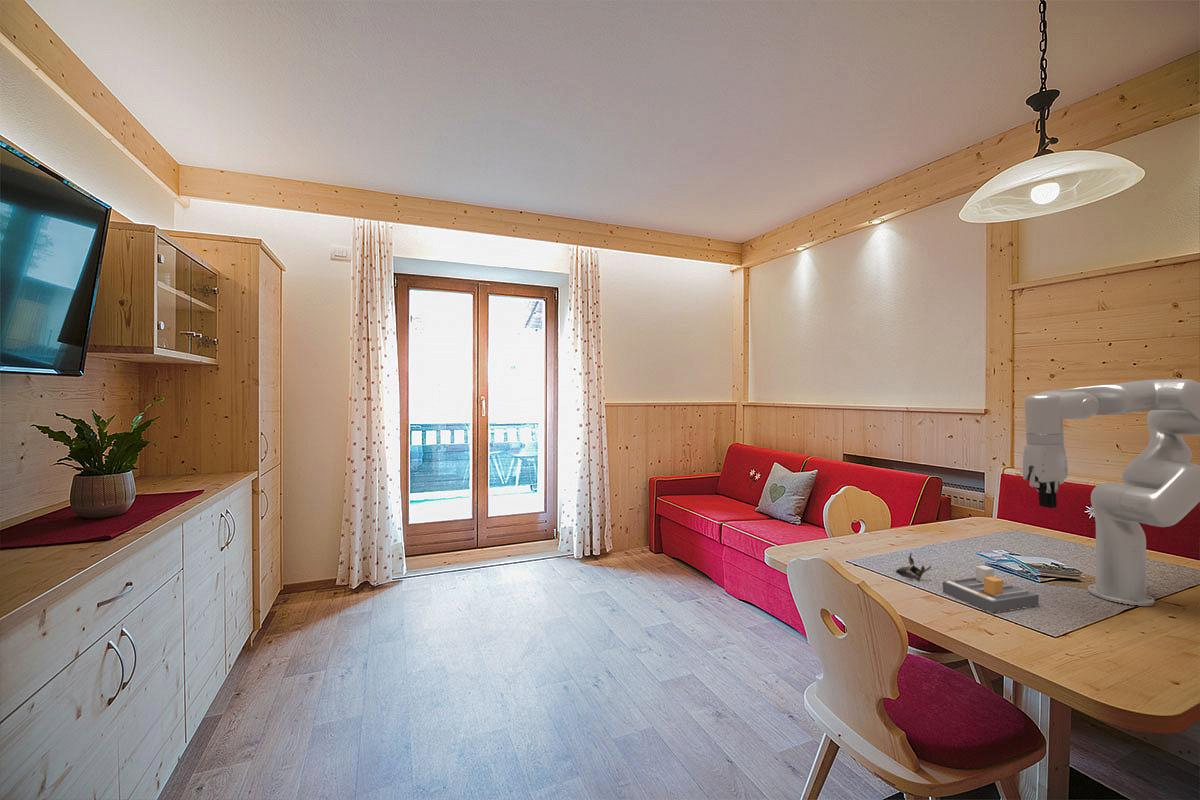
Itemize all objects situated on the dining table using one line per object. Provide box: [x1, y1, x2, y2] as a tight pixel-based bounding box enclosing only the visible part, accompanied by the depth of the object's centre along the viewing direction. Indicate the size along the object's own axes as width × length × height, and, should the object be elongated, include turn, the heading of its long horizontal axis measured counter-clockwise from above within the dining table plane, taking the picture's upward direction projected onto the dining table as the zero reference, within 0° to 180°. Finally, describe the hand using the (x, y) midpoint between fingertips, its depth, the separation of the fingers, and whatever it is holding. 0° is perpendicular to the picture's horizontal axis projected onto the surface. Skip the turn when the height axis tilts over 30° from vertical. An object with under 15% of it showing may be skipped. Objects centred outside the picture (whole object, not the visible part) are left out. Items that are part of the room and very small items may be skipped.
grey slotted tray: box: [942, 576, 1040, 613], centre depth 136 cm, size 16×14×4 cm
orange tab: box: [984, 576, 1004, 596], centre depth 131 cm, size 3×3×4 cm
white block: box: [975, 564, 995, 583], centre depth 140 cm, size 3×3×4 cm
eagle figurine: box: [895, 552, 932, 581], centre depth 153 cm, size 8×7×9 cm
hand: (1048, 506), depth 132 cm, fingers closed
